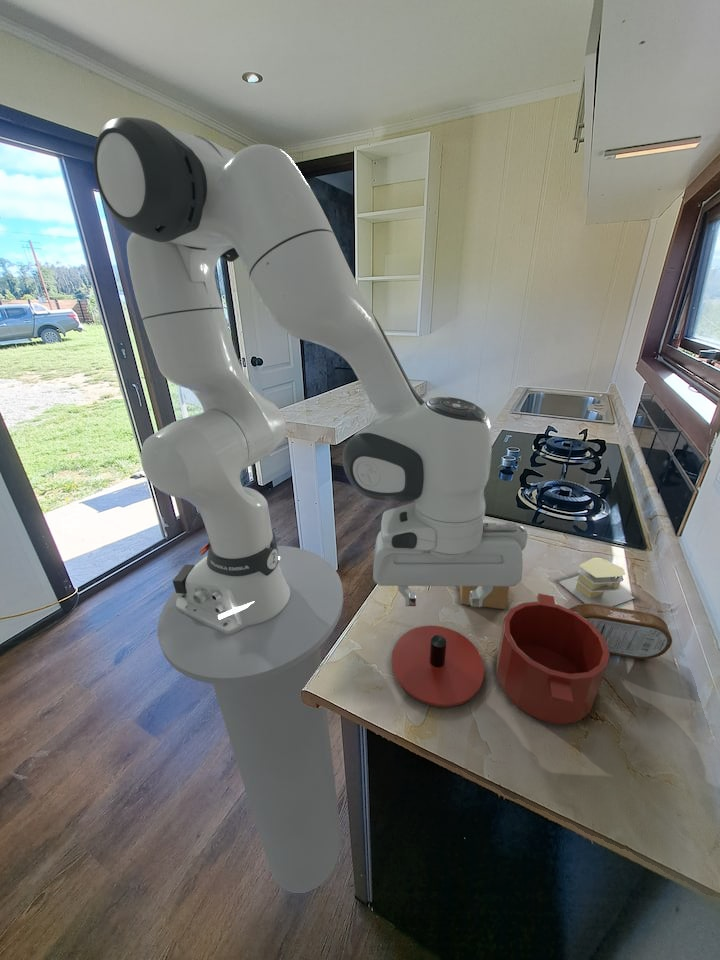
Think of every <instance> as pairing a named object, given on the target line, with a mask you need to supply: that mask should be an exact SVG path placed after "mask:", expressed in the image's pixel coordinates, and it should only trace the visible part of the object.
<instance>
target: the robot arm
mask: <svg viewBox="0 0 720 960" xmlns="http://www.w3.org/2000/svg"><path fill="white" fill-rule="evenodd" d="M93 152H94V153H93V170H94V175H95V181H96V185H97V187H98V190H99V193H100V195H101V198H102V199H103V202H104V204H105V206H106V207H107V209H108V211H109V212H110V214H111V215H112V216H113V218H114V219H115V220H116V222H118V224H120V226H121V227H123V228H124V229H126V230H127V231H129V232H131V234H130V235H129V237H128V239H127V242H126V255H127V256H126V257H127V263H128V268H129V274H130V280H131V283H132V289H133V293H134V297H135V301H136V303H137V308H138V311H139V314H140V318H141V320H142V323H143V326H144V330H145V332H146V335H147V338H148V341H149V344H150V348H151V351H152V352H153V356H154V359H155V362H156V365H157V367H158V370H159V372H160V373H161V375H162V376H163V377H164V378H165V379H166V380H167V381H169V382H170V383H172V384H174V385H176V386H179V387H182V388H185V389H188V390H189V391H191V392H192V394H194V395H195V397H196V398H197V399H198V401H199V403H200V405H201V407H202V409H203V411H201V412H199V413H195V414H193V415H190V416H188V417H184V418H181V419H179V420H175V421H173V422H170V423H168V424H167V425H165V426H164V427H162V428H160V429H159V430H158V431H156V432H155V433H153V434H151V435H150V436H149V437H147V438H146V439H145V440H144V442H143V444H142V447H141V454H140V460H141V467H142V471H143V472H144V475H145V476H146V478H147V480H148V481H149V482H150V483H151V484H152V485H153V486H154V487H155V489H157V490H158V491H160V492H161V493H164V494H166V495H168V496H170V497H174V498H177V499H178V498H179V499H182V500H185V501H187V502H188V503H190V504H191V505H192V506H193V507H194V508H195V509H196V510H197V511H198V513H199V514H200V517H201V518H202V521H203V524H204V527H205V531H206V533H207V537H208V541H207V542H206V544H205V545H204V546H203V547H202V548H201V549H200V550H199V552H201V553H200V556H201V557H203V555H204V554H206V553H207V555H205V556H204V557H203V558H201V560H199V561H198V562H197V563H196V564H183V567H182V568H181V569H180V570H179V572H178V573H177V575H176V576H175V577H174V578H173V580H172V584H173V587H174V591H176V593H180V595H179V597H178V599H177V601H176V609H177V610H179V611H180V612H182V613H184V614H186V615H188V616H190V617H192V618H194V619H196V620H198V621H200V622H202V623H204V624H206V625H208V626H210V627H212V628H214V629H216V630H218V631H220V632H222V633H224V634H226V635H230V634H233V633H236V632H238V631H239V630H241V629H243V628H245V627H248V626H252V625H256V624H259V623H262V622H265V621H267V620H269V619H271V618H273V617H274V616H276V615H277V614H278V613H279V612H281V611H282V610H283V609H284V607H285V606H286V605H287V603H288V601H289V598H290V587H289V585H288V584H287V582H286V580H285V578H284V576H283V573H282V571H281V568H280V565H279V562H278V560H280V556H278V548H277V546H278V543H277V538H276V534H275V532H274V531H273V528H272V522H271V516H270V510H269V509H270V508H269V504H268V500H267V499H266V498H265V496H264V495H263V494H262V493H261V492H259V491H258V490H257V489H254V488H252V487H247V486H243V484H242V481H241V473H242V471H244V470H246V469H248V468H249V467H251V466H253V465H255V464H257V463H258V462H261V461H262V460H264V459H266V458H268V457H269V456H270V455H271V454H272V453H273V452H274V451H275V450H276V449H277V448H278V447H279V446H280V445H281V444H282V443H283V442H284V440H285V438H286V435H287V423H286V420H285V417H284V414H283V413H282V411H281V410H280V408H279V407H278V406H277V405H276V404H275V403H274V402H272V401H271V400H269V399H267V398H265V397H263V396H262V395H261V394H260V393H259V391H258V390H257V389H256V388H255V387H254V386H253V384H252V383H251V381H250V380H249V378H248V376H247V375H246V374H245V372H244V369H243V367H242V365H241V363H240V361H239V359H238V355H237V352H236V348H235V345H234V342H233V339H232V336H231V332H230V329H229V325H228V321H227V318H226V314H225V311H224V306H223V302H222V300H221V296H220V293H219V289H218V286H217V279H216V266H217V264H218V261H219V260H220V258H221V259H222V260H224V261H227V262H229V263H232V262H234V261H236V260H237V259H240V260H241V263H242V265H243V267H244V270H245V272H246V274H247V276H248V277H249V280H250V282H251V284H252V286H253V288H254V290H255V292H256V294H257V297H258V298H259V300H260V302H261V304H262V306H263V307H264V309H265V310H266V312H267V314H269V316H270V317H271V318H272V320H273V321H274V322H275V324H276V325H277V326H278V327H279V328H280V329H281V330H282V331H284V333H287V334H289V335H290V336H292V337H294V338H296V339H299V340H302V341H305V342H306V341H307V342H308V343H309V342H310V343H313V344H316V345H319V346H322V347H324V348H326V349H329V351H330V350H331V351H333V352H334V353H336V354H337V355H339V356H340V357H341V358H343V359H344V360H345V361H346V363H348V365H349V366H350V368H351V369H352V370H353V373H354V374H355V376H356V378H357V379H358V381H359V383H360V384H361V387H362V388H363V390H364V391H365V393H366V396H367V397H368V399H369V400H370V402H371V404H372V407H373V408H374V410H375V414H376V415H375V417H376V419H375V420H374V421H372V422H370V423H369V424H367V425H366V426H365V427H363V428H362V429H360V430H359V431H358V432H356V433H355V434H354V435H353V436H352V437H351V438H350V439H348V440H347V442H346V444H345V446H344V448H343V452H342V466H343V467H342V468H343V470H344V474H345V476H346V478H347V480H348V481H349V483H350V485H351V486H352V487H353V488H354V489H355V490H357V492H359V493H360V494H361V495H363V496H364V497H367V498H370V499H373V500H378V501H387V502H388V501H389V502H410V503H406V504H404V505H401V506H396V507H393V508H390V509H387V510H384V512H383V513H382V517H381V522H380V531H379V532H378V534H377V535H376V539H375V544H374V550H373V551H374V552H373V560H372V561H373V563H372V580H373V582H375V584H376V585H378V586H379V587H397V590H398V592H399V593H400V594H401V595H402V597H403V598H404V601H405V602H404V603H405V604H404V605H405V607H416V606H417V597H416V590H415V589H410V588H409V587H460V586H478V588H477V589H476V590H470V596H469V601H470V603H471V605H470V607H471V608H483V606H482V602H483V599H484V598H485V597H486V596H487V595H488V594H489V593H490V592H491V591H492V589H493V586H509V587H515V586H517V585H518V584H520V582H522V579H523V571H524V569H523V568H524V565H523V564H524V559H523V551H524V549H526V547H527V543H528V531H527V530H526V529H525V528H524V527H523V526H520V525H519V524H518V523H516V522H506V523H501V522H500V523H499V522H485V517H486V509H487V508H486V507H487V506H486V505H487V503H486V497H485V489H486V487H487V484H488V482H489V481H490V473H491V466H492V464H491V463H492V451H493V434H492V425H491V421H490V418H489V416H488V414H487V413H486V412H485V410H484V409H482V408H481V407H480V406H478V405H476V404H475V403H473V402H471V401H468V400H466V399H462V398H457V397H452V396H445V397H443V396H436V397H431V398H429V399H427V400H425V401H424V400H423V398H422V397H421V396H420V395H419V394H418V393H417V392H416V390H415V388H414V386H412V383H411V382H410V379H409V378H408V376H407V373H406V372H405V370H404V368H403V366H402V364H401V362H400V361H399V358H398V357H397V355H396V353H395V350H394V349H393V346H392V344H391V342H390V341H389V339H388V337H387V336H386V333H385V331H384V330H383V328H382V326H381V325H380V323H379V320H378V319H377V318H376V316H375V315H374V313H373V311H372V309H371V308H370V305H369V304H368V302H367V300H366V298H365V296H364V295H363V292H362V290H361V289H360V287H359V285H358V283H357V281H356V278H355V276H354V275H353V273H352V270H351V268H350V266H349V264H348V262H347V260H346V257H345V255H344V252H343V251H342V249H341V246H340V244H339V241H338V239H337V237H336V235H335V232H334V230H333V228H332V226H331V224H330V221H329V220H328V217H327V216H326V214H325V211H324V209H323V208H322V206H321V204H320V202H319V200H318V199H317V196H316V195H315V193H314V191H313V189H312V188H311V186H310V185H309V183H308V182H307V180H306V179H305V177H304V176H303V174H302V173H301V171H300V169H299V168H298V166H297V165H296V163H295V162H294V160H293V159H292V158H291V157H290V156H289V154H288V153H286V152H285V151H283V150H282V149H280V148H279V147H277V146H274V145H271V144H268V143H267V144H266V143H259V144H252V145H248V146H246V147H245V148H242V149H240V150H239V151H237V152H236V153H234V152H232V151H230V150H229V149H227V148H225V147H223V146H221V145H220V144H218V143H216V142H214V141H212V140H210V139H207V138H205V137H202V136H200V135H196V134H190V133H187V132H183V131H181V130H177V129H173V128H169V127H164V126H163V125H161V124H159V123H157V122H156V121H154V120H151V119H146V118H140V117H131V116H124V117H115V118H112V119H110V120H108V121H107V122H106V123H105V124H104V125H103V126H102V128H101V129H100V131H99V134H98V136H97V139H96V142H95V146H94V151H93ZM411 501H413V502H411Z"/></svg>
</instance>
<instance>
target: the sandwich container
mask: <svg viewBox="0 0 720 960" xmlns="http://www.w3.org/2000/svg"><path fill="white" fill-rule="evenodd" d="M477 588H478V586H459V595H460V597H459V598H460V604H461V605H466V606H467V605H469V606H471V603H470V601H469V596H470V590H476V589H477ZM509 588H510V586H493V589H492V591H491V592H490V593H489V594H488V595H487V596H486V597H485V598H484V599H483V602H482V608H483V607H484V608H492V609H500V610H505V609H506V604H507V599H508V595H509Z"/></svg>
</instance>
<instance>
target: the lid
mask: <svg viewBox="0 0 720 960" xmlns="http://www.w3.org/2000/svg"><path fill="white" fill-rule="evenodd" d="M391 667H392V671H393V674H394V677H395V679H396V681H397V682H398V684H399V685H400V686H401V687H402V689H403V690H404V691H405V693H407V694H409V696H411V697H413V698H414V699H416V700H418V701H419V702H422V703H424V704H427V705H430V706H434V707H442V708H445V707H446V708H447V707H455V706H459V705H463V704H464V703H466V702H468V701H470V700H471V699H473V698H474V697H475V696H476V695H477V693H478V692H479V691H480V689H481V687H482V685H483V683H484V680H485V679H484V678H485V666H484V661H483V659H482V655H481V654H480V652H479V650H478V648H477V647H476V646H475V645H474V644H473V642H471V641H470V640H469V639H468V638H467V637H466V636H465V635H463V634H461V633H460V632H458V631H456V630H454V629H451V628H448V627H444V626H439V625H423V626H418V627H414V628H412V629H410V630H408V631H407V632H405V633H404V634H402V636H401V637H399V639H398V640H397V641H396V643H395V645H394V647H393V649H392V653H391Z"/></svg>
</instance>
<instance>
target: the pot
mask: <svg viewBox="0 0 720 960" xmlns="http://www.w3.org/2000/svg"><path fill="white" fill-rule="evenodd" d="M536 599H537V601H528V602H521V603H520V604H518V605H516V606H513V607H512V608H510V609H509V610H508V612H507V614H506V615H505V617H504V619H503V623H502V628H501V634H500V640H499V646H498V650H497V657H496V668H495V670H496V676H497V680H498V683H499V685H500V687H501V689H502V691H503V692H504V694H505V695H506V696H507V697H508V699H509V700H510V701H511V702H512V703H513V704H515V706H516V707H517V708H518V709H520V710H522V711H523V712H525V714H528V715H529V716H531V717H533V718H535V719H538V720H540V721H543V722H547V723H550V724H556V725H568V724H574V723H576V722H579V721H581V720H583V719H584V718H585V717H586V716H587V715H588V714H589V713H590V712H591V711H592V708H593V705H594V702H595V699H596V697H597V694H598V692H599V689H600V686H601V683H602V681H603V678H604V675H605V673H606V670H607V668H608V667H607V666H608V664H609V660H610V657H611V653H609V650H608V647H607V644H606V641H605V638H604V637H603V636H602V635H601V633H600V632H599V631H598V630H597V629H596V627H595V626H594V625H593V624H592V623H590V622H589V621H587V620H586V619H585V618H583V617H582V616H581V615H579V614H578V613H576V612H574V611H572V610H569V609H570V608H567V607H564V606H562V605H560V604H557V603H556V601H555V596H554V595H550V594H543V593H538V594H537V596H536Z"/></svg>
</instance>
